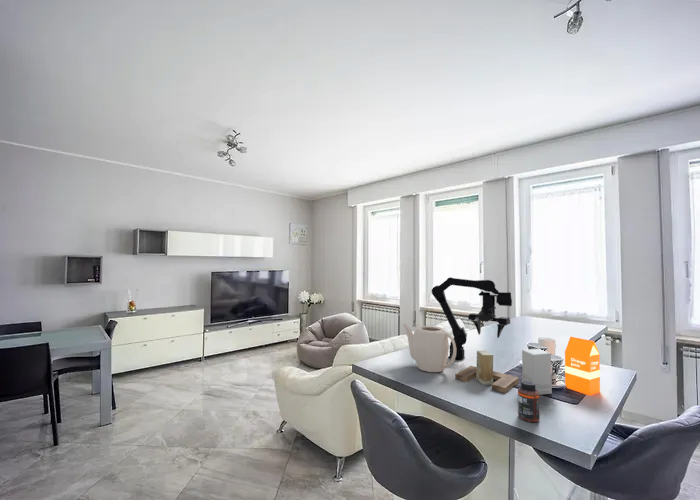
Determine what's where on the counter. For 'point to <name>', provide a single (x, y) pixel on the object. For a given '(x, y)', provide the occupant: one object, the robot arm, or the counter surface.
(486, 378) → the skincare box
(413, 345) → the watering can
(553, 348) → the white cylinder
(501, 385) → the notched board
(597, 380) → the orange juice
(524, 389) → the supplement bottle
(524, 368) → the skincare box
